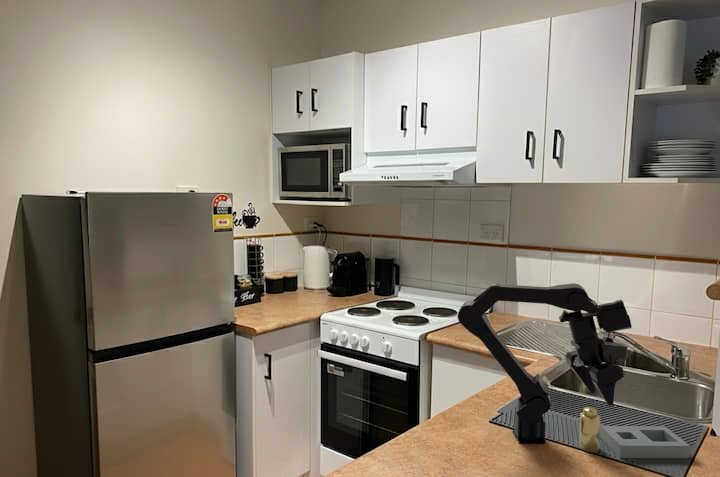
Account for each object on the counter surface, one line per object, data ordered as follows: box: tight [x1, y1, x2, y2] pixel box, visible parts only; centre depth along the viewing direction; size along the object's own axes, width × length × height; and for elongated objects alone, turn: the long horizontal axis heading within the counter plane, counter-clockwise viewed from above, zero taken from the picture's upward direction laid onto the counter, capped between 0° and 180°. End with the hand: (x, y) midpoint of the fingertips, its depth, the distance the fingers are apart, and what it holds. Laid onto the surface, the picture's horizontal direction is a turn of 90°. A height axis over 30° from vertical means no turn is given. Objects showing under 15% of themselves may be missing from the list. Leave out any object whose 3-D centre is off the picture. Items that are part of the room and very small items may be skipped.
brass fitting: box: [578, 406, 601, 453], centre depth 123 cm, size 4×4×10 cm
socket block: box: [599, 425, 691, 459], centre depth 123 cm, size 16×10×3 cm, turn 89°
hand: (601, 398), depth 122 cm, fingers open, 9 cm apart
